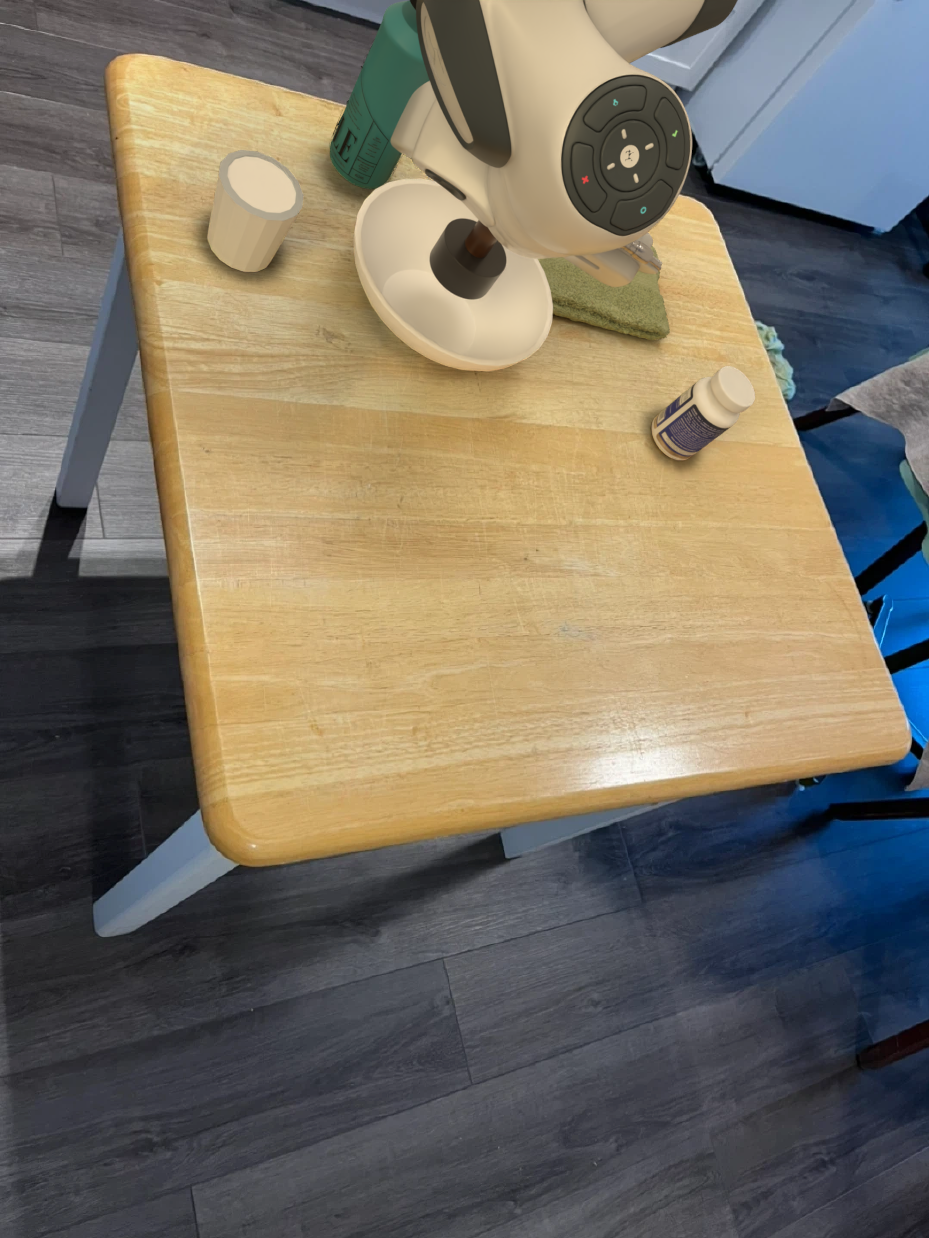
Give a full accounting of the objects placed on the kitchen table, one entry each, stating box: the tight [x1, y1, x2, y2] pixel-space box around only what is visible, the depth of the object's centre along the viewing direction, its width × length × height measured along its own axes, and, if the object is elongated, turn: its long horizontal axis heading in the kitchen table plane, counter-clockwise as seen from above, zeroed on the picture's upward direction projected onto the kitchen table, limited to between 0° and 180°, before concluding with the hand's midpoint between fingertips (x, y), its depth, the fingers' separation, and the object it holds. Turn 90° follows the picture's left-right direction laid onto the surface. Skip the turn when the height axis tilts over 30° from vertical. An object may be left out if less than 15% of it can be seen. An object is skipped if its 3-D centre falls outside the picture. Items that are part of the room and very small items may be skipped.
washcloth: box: [538, 245, 671, 341], centre depth 95 cm, size 13×18×3 cm
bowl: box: [353, 178, 554, 372], centre depth 80 cm, size 20×20×7 cm
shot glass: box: [206, 149, 305, 273], centre depth 73 cm, size 7×7×7 cm
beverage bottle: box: [328, 0, 430, 190], centre depth 77 cm, size 6×7×20 cm
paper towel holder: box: [429, 218, 507, 300], centre depth 70 cm, size 6×6×18 cm
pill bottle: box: [651, 365, 756, 461], centre depth 89 cm, size 6×6×10 cm
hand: (502, 203), depth 71 cm, fingers open, 8 cm apart
